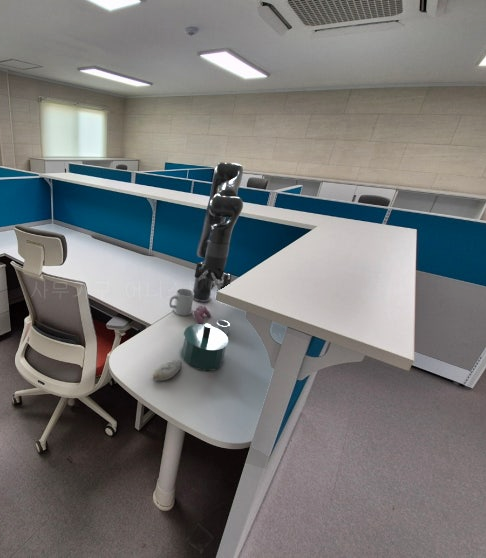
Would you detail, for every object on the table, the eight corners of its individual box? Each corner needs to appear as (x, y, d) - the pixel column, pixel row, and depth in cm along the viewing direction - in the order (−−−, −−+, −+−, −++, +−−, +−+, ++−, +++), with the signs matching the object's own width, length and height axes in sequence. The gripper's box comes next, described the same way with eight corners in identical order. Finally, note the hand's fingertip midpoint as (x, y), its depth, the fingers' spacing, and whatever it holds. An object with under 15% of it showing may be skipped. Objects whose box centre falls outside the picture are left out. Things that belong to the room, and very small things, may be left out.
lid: (185, 323, 127) (187, 311, 125) (226, 331, 123) (229, 318, 121) (181, 346, 112) (184, 333, 110) (228, 356, 108) (232, 342, 106)
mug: (186, 306, 158) (189, 288, 154) (193, 315, 151) (197, 295, 146) (165, 308, 156) (167, 289, 151) (171, 317, 148) (174, 297, 144)
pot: (183, 341, 130) (186, 323, 126) (221, 349, 126) (225, 330, 122) (180, 365, 116) (183, 345, 113) (222, 374, 113) (227, 353, 109)
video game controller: (203, 316, 153) (199, 303, 152) (211, 316, 149) (208, 303, 149) (194, 324, 146) (190, 311, 145) (203, 324, 142) (199, 310, 142)
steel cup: (214, 327, 141) (216, 318, 139) (227, 330, 140) (229, 320, 138) (214, 334, 136) (216, 325, 134) (227, 336, 135) (229, 327, 133)
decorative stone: (186, 368, 115) (187, 361, 114) (160, 387, 105) (161, 380, 104) (173, 360, 119) (174, 353, 118) (147, 378, 109) (148, 370, 108)
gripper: (240, 257, 104) (231, 299, 111) (208, 246, 115) (201, 284, 121) (226, 261, 100) (217, 304, 107) (194, 249, 111) (188, 288, 117)
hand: (209, 293), depth 114 cm, fingers open, 8 cm apart
